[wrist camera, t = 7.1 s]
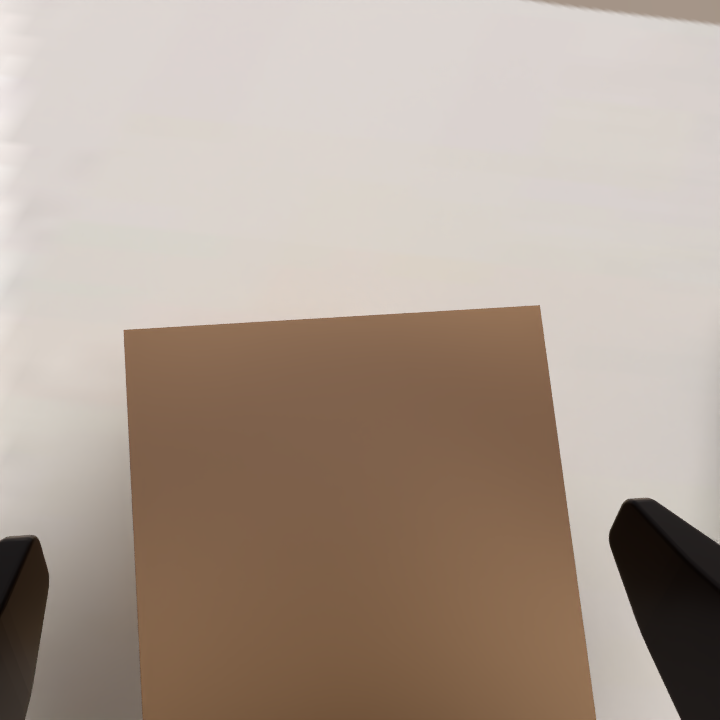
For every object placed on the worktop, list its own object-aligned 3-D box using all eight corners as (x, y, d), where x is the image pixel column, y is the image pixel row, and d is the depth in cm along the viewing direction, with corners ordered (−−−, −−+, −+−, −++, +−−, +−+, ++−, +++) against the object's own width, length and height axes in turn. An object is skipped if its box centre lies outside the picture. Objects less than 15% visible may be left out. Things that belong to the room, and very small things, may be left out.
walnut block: (380, 558, 19) (597, 726, 7) (210, 581, 18) (148, 815, 6) (364, 393, 20) (539, 305, 8) (199, 407, 19) (123, 330, 7)
